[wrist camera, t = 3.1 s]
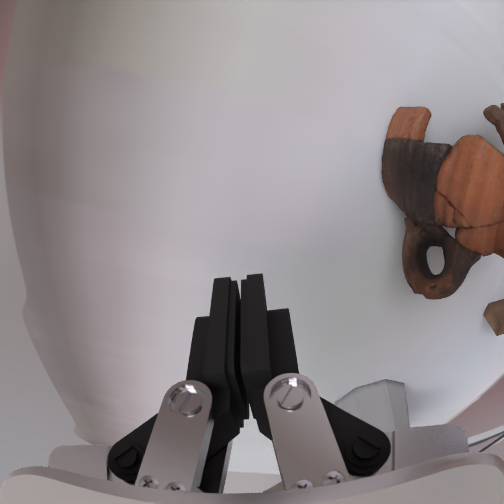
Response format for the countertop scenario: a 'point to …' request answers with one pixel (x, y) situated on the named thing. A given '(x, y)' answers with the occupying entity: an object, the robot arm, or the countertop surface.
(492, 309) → the frame
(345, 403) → the coffee maker
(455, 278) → the pottery mug
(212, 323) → the robot arm
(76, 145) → the countertop surface
